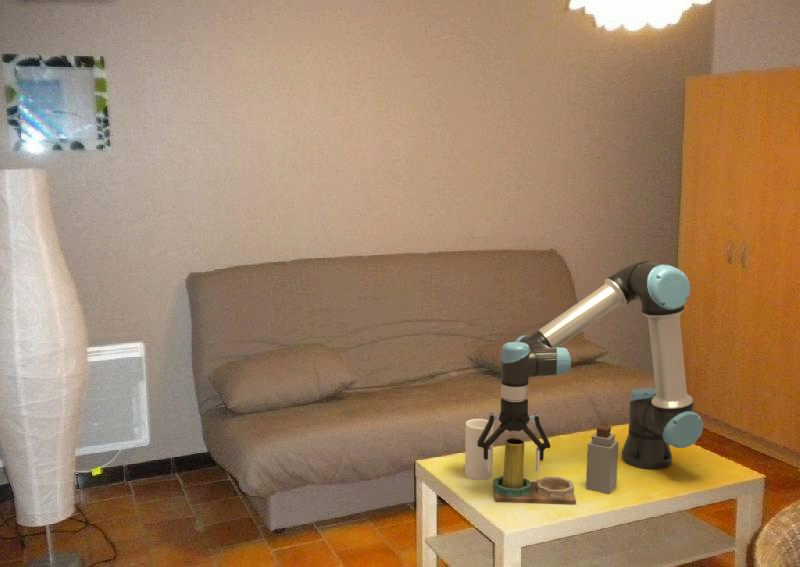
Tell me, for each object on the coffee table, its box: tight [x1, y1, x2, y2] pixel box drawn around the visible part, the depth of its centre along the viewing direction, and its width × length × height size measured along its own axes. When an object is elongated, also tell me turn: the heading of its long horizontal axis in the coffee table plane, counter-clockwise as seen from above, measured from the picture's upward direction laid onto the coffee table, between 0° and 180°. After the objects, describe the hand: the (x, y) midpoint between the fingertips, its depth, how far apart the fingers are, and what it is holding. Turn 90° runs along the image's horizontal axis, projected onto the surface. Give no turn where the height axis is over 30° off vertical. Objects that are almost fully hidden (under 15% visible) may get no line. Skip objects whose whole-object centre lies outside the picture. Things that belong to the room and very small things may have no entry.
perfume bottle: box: [585, 424, 619, 495], centre depth 226 cm, size 7×7×18 cm
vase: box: [502, 437, 525, 489], centre depth 221 cm, size 6×6×14 cm
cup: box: [464, 418, 494, 481], centre depth 235 cm, size 8×8×16 cm
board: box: [492, 475, 577, 505], centre depth 222 cm, size 22×12×3 cm, turn 86°
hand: (513, 470), depth 222 cm, fingers open, 13 cm apart
